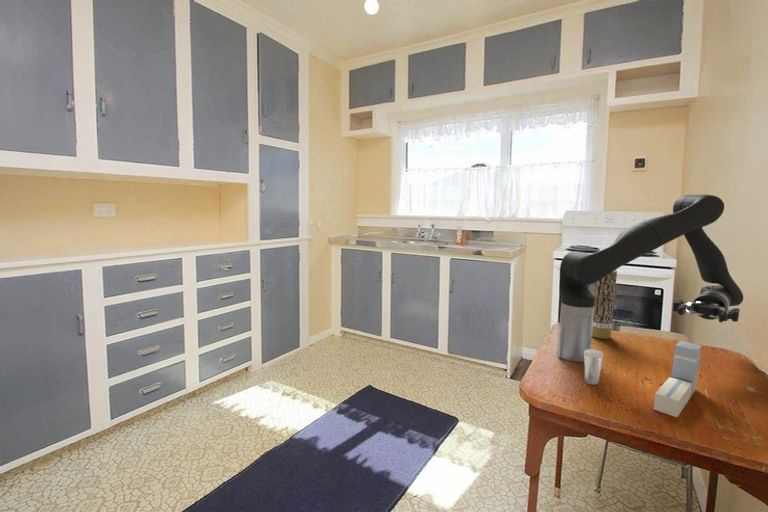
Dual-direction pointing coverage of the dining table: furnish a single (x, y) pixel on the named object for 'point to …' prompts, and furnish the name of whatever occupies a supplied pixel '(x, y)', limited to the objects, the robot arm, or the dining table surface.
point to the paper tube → (604, 306)
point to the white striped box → (673, 396)
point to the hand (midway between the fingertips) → (700, 315)
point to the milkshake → (592, 365)
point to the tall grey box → (686, 362)
